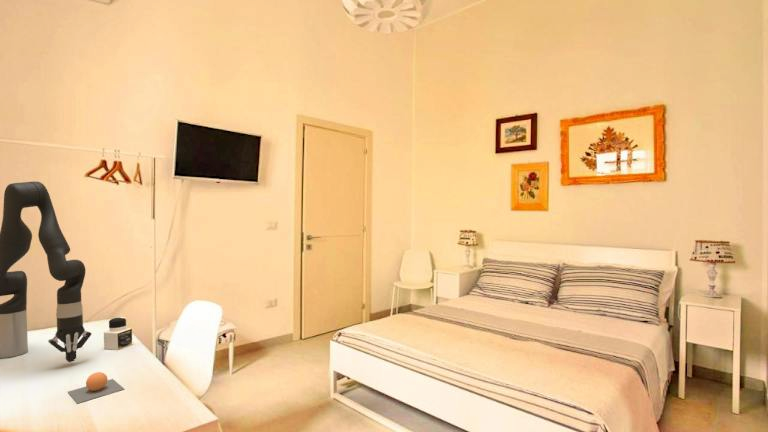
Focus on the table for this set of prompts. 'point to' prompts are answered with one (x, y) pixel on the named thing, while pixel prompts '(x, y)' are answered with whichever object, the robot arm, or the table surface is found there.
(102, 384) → the ball
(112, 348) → the medicine bottle
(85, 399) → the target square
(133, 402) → the table surface
